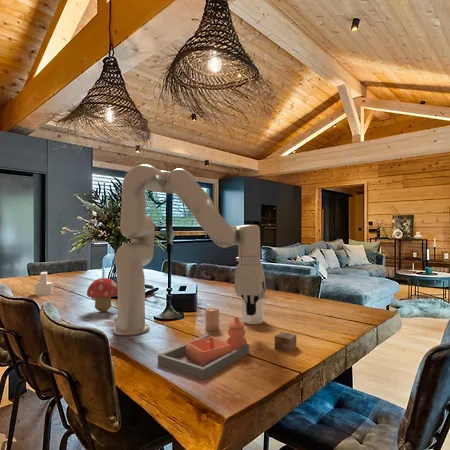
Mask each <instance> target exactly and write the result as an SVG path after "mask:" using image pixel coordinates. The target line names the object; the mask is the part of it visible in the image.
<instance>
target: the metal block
mask: <svg viewBox="0 0 450 450" xmlns="http://www.w3.org/2000/svg"><path fill="white" fill-rule="evenodd" d="M296 348H297V334H296V333H290V332H285V331H281V332H279V333H277V334H276V335H274V350H279V351H284V352H288V353H291V352H293V351H294V349H296Z"/></svg>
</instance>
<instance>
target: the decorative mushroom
mask: <svg viewBox="0 0 450 450" xmlns="http://www.w3.org/2000/svg"><path fill="white" fill-rule="evenodd" d="M86 296H87V297H88V298H92V299H94V309H95V310H97V311H99V312H100V313H105V312H107V311H108V310H110V309H111V307H112V298H113V297H116V296H118V288H117V282H115V281H114V280H113V279H111V278H108V277H100V278H97V279H95V280H94V281H92V282H91V283H90V284H89V286H88V287H87V291H86Z"/></svg>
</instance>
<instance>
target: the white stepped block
mask: <svg viewBox="0 0 450 450" xmlns="http://www.w3.org/2000/svg"><path fill="white" fill-rule="evenodd" d="M39 279H40V280H39V282H36V283H34V295H35V296H49V295H53V294H54V288H53V287H54V282H52V281H48V271H41V272H40V273H39Z"/></svg>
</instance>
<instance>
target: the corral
mask: <svg viewBox="0 0 450 450" xmlns="http://www.w3.org/2000/svg"><path fill="white" fill-rule="evenodd" d="M207 337H210V334H204V335H203V336H200V337H198V338H195V339H193V340H192V339H191V341H194V340H198V339H203V338H207ZM249 354H250V344H249V343H247V344H245V345H243V346H241V347H239V348H237V349H236V350H234V351H232V352H230V353H228V354H226V355H225V356H223V357H221V358H219V359H217V360H215V361H213V362H212V363H210V364H208V365H206V366H204V367H202V366H200V365H198V364H194V363H190V362H187V361H185V360H181V359H178V358H179V357H181V356H184V355H186V342H185V343H183V344H181V345H179V346H176V347H174V348H171V349H169V350H166V351H164V352H162V353H159V354H157V365H159V366H161V367H165V368H168V369H171V370H173V371H176V372H180V373H181V374H186V375H188V376H191V377H194V378H197V379H199V380H202V381H203V380H206V379H208V378H209V377H211V376H213V375H214V374H216V373H218V372H220V371H221V370H223V369H225V368H227V367H228V366H230V365H231V364H233V363H235V362H236V361H238V360H240V359H242V358H243V357H245V356H247V355H249Z"/></svg>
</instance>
